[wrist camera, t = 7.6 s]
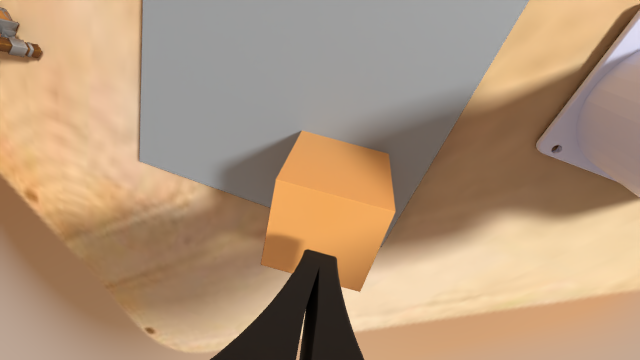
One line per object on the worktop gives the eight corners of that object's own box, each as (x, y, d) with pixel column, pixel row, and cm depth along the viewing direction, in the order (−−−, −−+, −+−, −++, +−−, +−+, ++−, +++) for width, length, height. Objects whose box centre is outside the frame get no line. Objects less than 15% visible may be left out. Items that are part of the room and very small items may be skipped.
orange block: (388, 153, 19) (395, 211, 14) (362, 222, 21) (359, 291, 16) (302, 130, 19) (275, 179, 14) (287, 201, 21) (260, 264, 16)
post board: (545, -44, 14) (635, -68, 9) (380, 238, 23) (383, 298, 18) (161, -201, 13) (46, -313, 9) (148, 155, 22) (89, 196, 18)
